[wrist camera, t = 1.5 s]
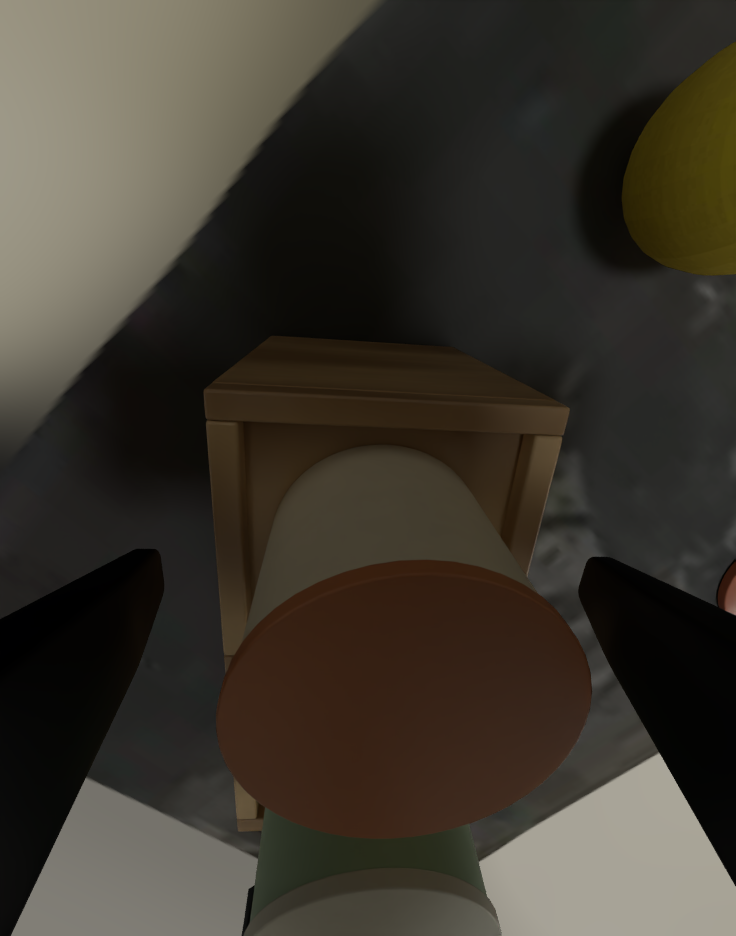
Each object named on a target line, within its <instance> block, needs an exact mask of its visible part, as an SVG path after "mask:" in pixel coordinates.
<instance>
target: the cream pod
mask: <svg viewBox="0 0 736 936" xmlns="http://www.w3.org/2000/svg"><path fill="white" fill-rule="evenodd" d="M591 695H592V686H591V674H590V669H589V666H588V662H587V658H586V655H585V653H584V651H583V649H582V647H581V645H580V643H579V641H578V639H577V637H576V636H575V635H574V633H573V632H572V630H571V629H570V627H569V626H568V624H567V623H566V622H565V620H564V619H563V618H562V616H561V615H560V614H559V612H558V611H557V610H556V609H555V608H554V607H553V606H552V605H551V604H549V603H548V602H547V601H546V600H545V599H544V598H543V597H542V596H540V595H539V594H538V593H537V592H536V590H535V588H534V587H533V585H532V584H531V582H530V581H529V579H528V578H527V576H526V575H525V573H524V572H523V570H522V569H521V567H520V566H519V564H518V563H517V561H516V560H515V558H514V557H513V555H512V554H511V552H510V551H509V549H508V548H507V546H506V545H505V543H504V542H503V540H502V538H501V537H500V535H499V534H498V532H497V531H496V529H495V528H494V526H493V525H492V523H491V522H490V520H489V519H488V517H487V516H486V514H485V513H484V511H483V510H482V508H481V507H480V505H479V504H478V502H477V501H476V499H475V498H474V496H473V495H472V493H471V492H470V490H469V488H468V487H467V486H466V484H465V483H464V482H463V480H462V479H461V478H460V477H459V476H458V475H457V474H456V473H455V472H454V471H453V470H452V469H451V468H450V467H448V466H447V465H445V464H444V463H443V462H441V461H440V460H438V459H436V458H434V457H432V456H431V455H429V454H426V453H423V452H421V451H418V450H416V449H411V448H407V447H403V446H396V445H367V446H360V447H355V448H351V449H347V450H344V451H341V452H338V453H336V454H333V455H331V456H328V457H327V458H325V459H323V460H321V461H320V462H318V463H316V464H315V465H313V466H312V467H311V468H309V469H308V470H307V471H305V472H304V473H303V474H302V475H301V476H300V477H299V478H298V479H297V480H296V481H295V482H294V483H293V484H292V485H291V487H290V488H289V489H288V491H287V492H286V493H285V495H284V497H283V499H282V500H281V502H280V504H279V506H278V509H277V512H276V514H275V517H274V521H273V525H272V528H271V532H270V536H269V540H268V544H267V547H266V551H265V555H264V559H263V563H262V567H261V570H260V574H259V578H258V582H257V586H256V590H255V593H254V597H253V601H252V605H251V609H250V613H249V616H248V620H247V624H246V628H245V632H244V636H243V639H242V643H241V645H240V646H239V648H238V650H237V651H236V653H235V655H234V656H233V658H232V660H231V662H230V665H229V667H228V670H227V672H226V675H225V677H224V680H223V684H222V688H221V691H220V695H219V700H218V705H217V710H216V732H217V737H218V742H219V748H220V751H221V753H222V756H223V758H224V761H225V763H226V765H227V767H228V769H229V770H230V772H231V773H232V775H233V777H234V778H235V780H236V781H237V782H238V783H239V784H240V785H241V787H242V788H243V789H244V790H245V791H246V792H247V793H248V794H249V795H250V796H251V797H253V798H254V799H255V800H256V801H257V802H259V803H260V804H261V805H263V806H264V807H266V808H267V809H269V810H270V811H272V812H274V813H275V814H277V815H279V816H281V817H283V818H285V819H287V820H289V821H291V822H293V823H296V824H299V825H302V826H304V827H307V828H310V829H313V830H317V831H321V832H325V833H329V834H334V835H340V836H347V837H356V838H369V839H392V838H404V837H415V836H421V835H427V834H433V833H437V832H442V831H446V830H450V829H454V828H457V827H460V826H463V825H466V824H469V823H473V822H475V821H477V820H480V819H482V818H485V817H487V816H490V815H492V814H494V813H496V812H498V811H500V810H502V809H504V808H506V807H508V806H510V805H511V804H513V803H514V802H516V801H518V800H519V799H521V798H522V797H524V796H526V795H527V794H528V793H530V792H531V791H532V790H534V789H535V788H536V787H538V786H539V785H540V784H541V783H543V782H544V781H545V780H546V779H547V778H548V777H549V776H550V775H551V774H552V773H553V772H554V771H555V770H556V769H557V768H558V767H559V766H560V765H561V763H562V762H563V761H564V760H565V759H566V758H567V756H568V755H569V753H570V752H571V750H572V749H573V747H574V746H575V744H576V743H577V741H578V739H579V737H580V735H581V733H582V731H583V728H584V726H585V724H586V720H587V717H588V713H589V710H590V704H591Z"/></svg>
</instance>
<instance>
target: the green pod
mask: <svg viewBox="0 0 736 936" xmlns="http://www.w3.org/2000/svg"><path fill="white" fill-rule="evenodd" d="M244 936H502V935H501V929H500V925H499V921H498V917H497V914H496V910H495V908H494V906H493V905H492V903H491V901H490V899H489V898H488V897H487V895H486V890H485V887H484V882H483V878H482V874H481V870H480V866H479V862H478V858H477V854H476V850H475V846H474V842H473V838H472V834H471V830H470V826H469V824H466V825H463V826H460V827H457V828H454V829H450V830H446V831H442V832H437V833H433V834H427V835H421V836H415V837H404V838H392V839H369V838H356V837H347V836H340V835H334V834H329V833H325V832H321V831H317V830H313V829H310V828H307V827H304V826H302V825H299V824H296V823H293V822H291V821H289V820H287V819H285V818H283V817H281V816H279V815H277V814H275V813H274V812H272V811H270V810H269V809H267V808H266V807H265V812H264V820H263V827H262V835H261V842H260V850H259V857H258V865H257V872H256V880H255V887H254V894H253V902H252V909H251V917H250V924H249V925H248V927H247V929H246V931H245V933H244Z"/></svg>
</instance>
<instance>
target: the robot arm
mask: <svg viewBox="0 0 736 936" xmlns="http://www.w3.org/2000/svg"><path fill="white" fill-rule="evenodd" d="M163 593H164V578H163V571H162V564H161V557H160V554H159V551H157V550H156V549H135V550H133V551H131V552H129V553H127V554H125V555H123V556H121V557H119V558H117V559H115V560H113V561H112V562H110V563H108V564H106V565H104V566H102V567H100V568H98V569H96V570H94V571H92V572H90V573H88V574H87V575H85V576H83V577H81V578H79V579H77V580H75V581H73V582H71V583H69V584H67V585H65V586H63V587H61V588H60V589H58V590H56V591H54V592H52V593H50V594H48V595H46V596H44V597H42V598H40V599H38V600H36V601H35V602H33V603H31V604H29V605H27V606H25V607H23V608H21V609H19V610H17V611H15V612H13V613H11V614H10V615H8V616H6V617H4V618H2V619H0V936H11V934H12V932H13V930H14V928H15V926H16V923H17V921H18V919H19V917H20V915H21V913H22V911H23V909H24V907H25V904H26V902H27V900H28V898H29V896H30V894H31V892H32V890H33V888H34V885H35V883H36V881H37V879H38V877H39V875H40V873H41V871H42V869H43V866H44V864H45V862H46V860H47V858H48V856H49V854H50V852H51V850H52V848H53V845H54V843H55V841H56V839H57V837H58V835H59V833H60V831H61V829H62V826H63V824H64V822H65V820H66V818H67V816H68V814H69V812H70V810H71V808H72V805H73V803H74V801H75V799H76V797H77V795H78V793H79V791H80V789H81V786H82V784H83V782H84V780H85V778H86V776H87V774H88V772H89V770H90V768H91V765H92V763H93V761H94V759H95V757H96V755H97V753H98V751H99V749H100V746H101V744H102V742H103V740H104V738H105V736H106V734H107V732H108V730H109V727H110V725H111V723H112V721H113V719H114V717H115V715H116V713H117V711H118V709H119V706H120V704H121V702H122V700H123V698H124V696H125V694H126V692H127V690H128V687H129V685H130V683H131V681H132V679H133V677H134V675H135V672H136V670H137V668H138V665H139V663H140V660H141V657H142V655H143V652H144V649H145V646H146V643H147V640H148V637H149V634H150V632H151V629H152V626H153V623H154V620H155V617H156V614H157V611H158V608H159V605H160V602H161V599H162V597H163ZM578 593H579V598H580V601H581V603H582V605H583V608H584V610H585V612H586V614H587V617H588V619H589V621H590V623H591V625H592V628H593V630H594V632H595V634H596V637H597V639H598V641H599V643H600V646H601V648H602V650H603V652H604V654H605V656H606V658H607V660H608V663H609V664H610V666H611V668H612V670H613V672H614V674H615V676H616V677H617V679H618V681H619V683H620V684H621V686H622V688H623V690H624V691H625V693H626V695H627V697H628V698H629V700H630V702H631V704H632V705H633V707H634V709H635V711H636V712H637V714H638V716H639V718H640V719H641V721H642V723H643V725H644V726H645V728H646V730H647V732H648V733H649V735H650V737H651V739H652V741H653V742H654V744H655V746H656V748H657V749H658V751H659V753H660V755H661V756H662V758H663V760H664V762H665V763H666V765H667V767H668V769H669V770H670V772H671V774H672V776H673V777H674V779H675V781H676V783H677V784H678V786H679V788H680V790H681V791H682V793H683V795H684V796H685V798H686V800H687V802H688V804H689V805H690V807H691V809H692V811H693V812H694V814H695V816H696V818H697V819H698V821H699V823H700V824H701V827H702V828H703V830H704V832H705V833H706V835H707V837H708V839H709V841H710V842H711V844H712V846H713V847H714V849H715V851H716V853H717V855H718V856H719V858H720V860H721V862H722V863H723V865H724V867H725V869H726V870H727V872H728V874H729V876H730V877H731V879H732V881H733V882H734V884H735V886H736V615H734V614H732V613H730V612H727V611H725V610H723V609H721V608H719V607H717V606H714V605H712V604H710V603H708V602H706V601H704V600H701V599H699V598H697V597H695V596H693V595H691V594H688V593H686V592H684V591H682V590H680V589H678V588H675V587H673V586H671V585H669V584H667V583H665V582H662V581H660V580H658V579H656V578H654V577H652V576H650V575H647V574H645V573H643V572H641V571H639V570H637V569H634V568H632V567H630V566H628V565H626V564H624V563H621V562H619V561H617V560H615V559H613V558H610V557H591V558H590V559H588V561H587V563H586V566H585V569H584V572H583V575H582V578H581V582H580V585H579V590H578ZM254 887H255V885H254V886H253V887H251V888H250V889H249V891H248V897H247V904H246V911H245V918H244V925H243V931H242V936H244V933H245V931H246V929H247V927H248V925H249V924H250V917H251V909H252V902H253V894H254Z"/></svg>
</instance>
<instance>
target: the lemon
mask: <svg viewBox="0 0 736 936" xmlns="http://www.w3.org/2000/svg"><path fill="white" fill-rule="evenodd" d="M622 207H623V216H624V220H625V222H626V225H627V228H628V230H629V233H630V235H631V237H632V239H633V240H634V241H635V242H636V244H637V245H638V246H639V247H640V249H641V250H642V251H643V252H644V253H645V254H647V255H648V256H650V257H651V258H653V259H654V260H656V261H657V262H659V263H660V264H662V265H664V266H666V267H669V268H673V269H677V270H681V271H685V272H689V273H693V274H698V275H728V274H736V42H734V43H732V44H731V45H729V46H728V47H726V48H725V49H723V50H721V51H720V52H718V53H717V54H716V55H715V56H713V57H712V58H711V59H709V60H708V61H707V62H706V63H704V64H703V65H702V66H701V67H700V68H699V69H697V70H696V71H695V72H694V73H693V74H691V75H690V76H689V77H688V78H687V79H685V80H684V81H683V82H682V83H681V84H680V85H679V86H678V87H676V88H675V89H674V90H673V92H672V93H671V94H670V95H669V96H668V97H667V98H666V100H665V101H664V102H663V103H662V105H661V106H660V107H659V108H658V110H657V111H656V112H655V113H654V115H653V116H652V117H651V119H650V120H649V121H648V123H647V124H646V126H645V127H644V129H643V131H642V133H641V135H640V137H639V139H638V141H637V142H636V144H635V146H634V148H633V150H632V153H631V156H630V159H629V162H628V165H627V168H626V172H625V175H624V179H623V189H622Z"/></svg>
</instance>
